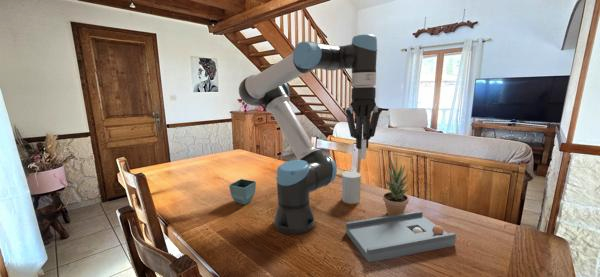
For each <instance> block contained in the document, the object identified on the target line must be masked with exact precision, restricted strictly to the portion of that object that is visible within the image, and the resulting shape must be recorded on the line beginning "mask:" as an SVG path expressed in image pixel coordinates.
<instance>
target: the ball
mask: <svg viewBox="0 0 600 277" xmlns="http://www.w3.org/2000/svg"><path fill="white" fill-rule="evenodd" d="M412 232H414V233H421V232H423V231H422V229H421V228H419V227H415V228H414V229H413V231H412Z"/></svg>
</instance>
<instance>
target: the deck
mask: <svg viewBox="0 0 600 277" xmlns="http://www.w3.org/2000/svg"><path fill="white" fill-rule="evenodd" d="M423 214H424V213H423V211H422V210H418V211H411V212H404V213H403V214H397V215H390V216H389V215H386V216H378V217H373V218H366V219H359V220H354V221H353V220H351V221H347V222H345V234H346V235H347V237H348V238H349V239H350V240H351V241H352V243H353V244H354V246H355V247H356V249H357V250H358V251H359V253H360V254H361V256H362V257H363V258H364V259H365V261H366V262H367V263H374V262H379V261H383V260H384V261H385V260H388V259H393V258H398V257H404V256H409V255H414V254H415V255H416V254H419V253H425V252H429V251H434V250H438V249H444V248H449V247H455V246H456V237H457V234H456V233H455V232H448V231H446V230H444V233H443V234H442V235H437V236H436V235H435V234H434V233H433V231H432V229H433V227H434V226H436V224H435V223H434V222H432V221H431V220H429V219H428V218H427V217H425V216H423ZM415 227H419V228H421V229H422V231H423V232H421V233H414V232H412V231H413V229H414V228H415Z"/></svg>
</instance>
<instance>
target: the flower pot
mask: <svg viewBox="0 0 600 277" xmlns="http://www.w3.org/2000/svg"><path fill="white" fill-rule="evenodd" d="M228 186H229V191H230V192H229V193H230V196H231V198H232V200H233V201H234V202H235V203H237V204H240V205H247V204H248V203H250V202H251V201H252V200H253V198H254V196H255V193H256V187H257V181H255V180H249V179H244V178H243V179H242V178H240V179H238V180H236V181H234V182H232V183H230V184H229V185H228Z"/></svg>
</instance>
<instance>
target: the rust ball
mask: <svg viewBox="0 0 600 277" xmlns="http://www.w3.org/2000/svg"><path fill="white" fill-rule="evenodd" d="M435 225H436V224H435ZM432 231H433V233H434V234H435V235H436V236H437V235H442V234H443V233H444V231H445V230H444V228H443V227H442V226H441V225H436V226H434V227H433V229H432Z"/></svg>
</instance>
